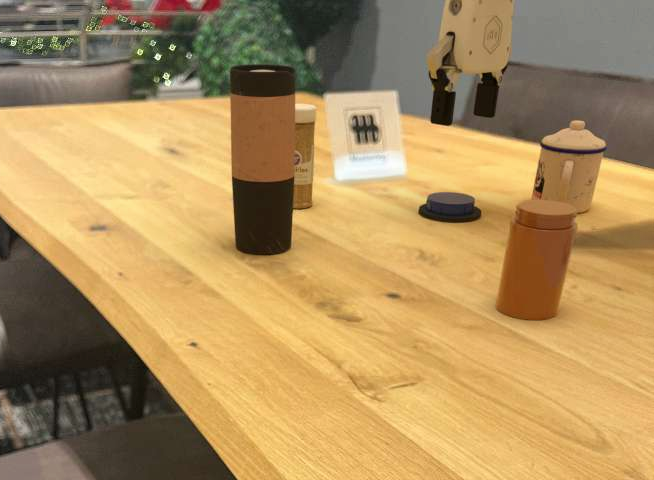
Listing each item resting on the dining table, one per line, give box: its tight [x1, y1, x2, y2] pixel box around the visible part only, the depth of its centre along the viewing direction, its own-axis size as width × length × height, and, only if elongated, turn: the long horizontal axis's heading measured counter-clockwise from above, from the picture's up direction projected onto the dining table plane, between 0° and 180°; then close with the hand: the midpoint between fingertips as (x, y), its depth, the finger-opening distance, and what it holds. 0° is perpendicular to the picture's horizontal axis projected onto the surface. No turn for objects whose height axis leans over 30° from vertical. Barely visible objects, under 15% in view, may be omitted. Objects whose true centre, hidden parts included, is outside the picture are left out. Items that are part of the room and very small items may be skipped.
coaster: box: [418, 203, 483, 223], centre depth 111 cm, size 9×9×1 cm
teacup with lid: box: [530, 119, 607, 214], centre depth 110 cm, size 12×9×12 cm
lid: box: [425, 191, 476, 216], centre depth 110 cm, size 7×7×2 cm
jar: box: [495, 199, 579, 321], centre depth 78 cm, size 6×6×10 cm
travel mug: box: [229, 63, 297, 256], centre depth 92 cm, size 8×8×20 cm
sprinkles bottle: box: [293, 103, 317, 209], centre depth 110 cm, size 5×5×13 cm
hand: (462, 120), depth 104 cm, fingers open, 9 cm apart
